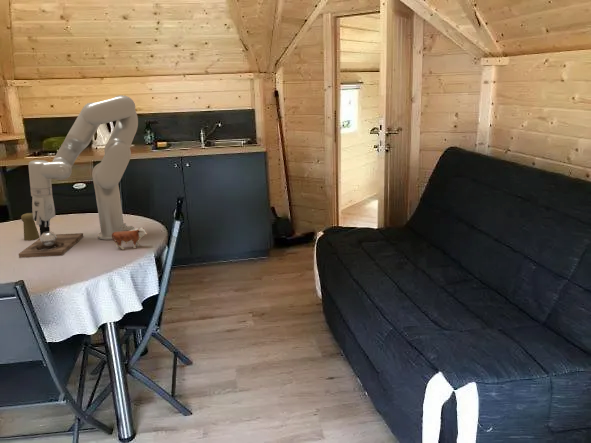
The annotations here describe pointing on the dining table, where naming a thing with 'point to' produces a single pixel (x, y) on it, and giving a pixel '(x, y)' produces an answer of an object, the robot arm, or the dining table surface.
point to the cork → (29, 227)
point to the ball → (48, 238)
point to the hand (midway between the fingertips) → (45, 235)
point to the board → (61, 245)
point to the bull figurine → (128, 237)
